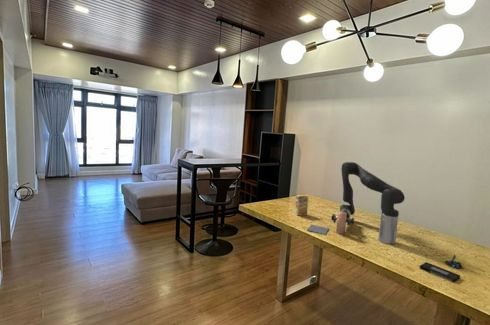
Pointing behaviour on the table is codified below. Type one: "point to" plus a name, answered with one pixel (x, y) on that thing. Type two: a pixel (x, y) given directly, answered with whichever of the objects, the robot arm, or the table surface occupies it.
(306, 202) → the candy box
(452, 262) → the dark blue compact piece
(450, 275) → the vhs tape
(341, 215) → the terracotta canister
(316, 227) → the rubber mat
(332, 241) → the table surface
